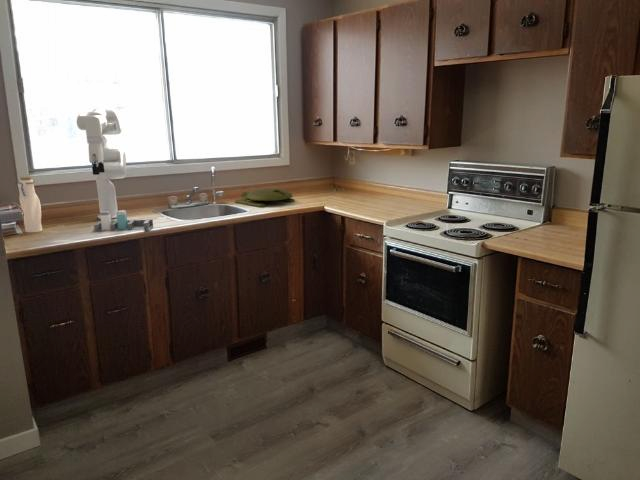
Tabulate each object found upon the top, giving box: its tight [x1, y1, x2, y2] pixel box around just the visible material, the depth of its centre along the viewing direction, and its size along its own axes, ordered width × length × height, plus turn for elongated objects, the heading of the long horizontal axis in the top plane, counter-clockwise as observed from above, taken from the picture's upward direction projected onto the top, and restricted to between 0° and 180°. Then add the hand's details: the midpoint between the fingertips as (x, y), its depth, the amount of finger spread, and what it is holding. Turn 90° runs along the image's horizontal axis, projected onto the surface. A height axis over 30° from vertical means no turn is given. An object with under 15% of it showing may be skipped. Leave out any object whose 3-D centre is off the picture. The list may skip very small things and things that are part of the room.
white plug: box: [99, 211, 112, 230], centre depth 262 cm, size 4×4×9 cm
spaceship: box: [234, 187, 296, 208], centre depth 338 cm, size 35×31×10 cm
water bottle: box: [17, 176, 43, 233], centre depth 261 cm, size 10×9×28 cm
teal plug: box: [116, 209, 128, 229], centre depth 263 cm, size 4×4×9 cm
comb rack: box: [91, 218, 154, 233], centre depth 264 cm, size 12×28×4 cm, turn 98°
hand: (98, 173), depth 267 cm, fingers open, 9 cm apart
